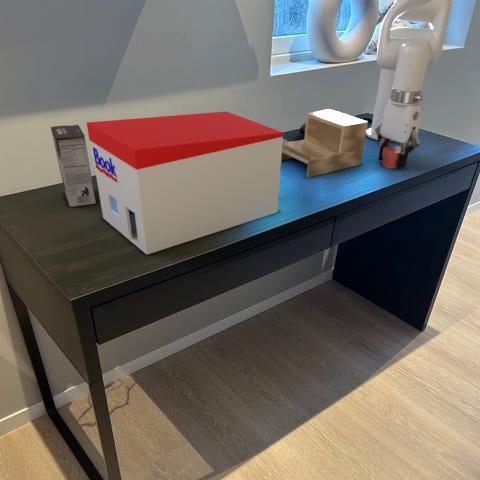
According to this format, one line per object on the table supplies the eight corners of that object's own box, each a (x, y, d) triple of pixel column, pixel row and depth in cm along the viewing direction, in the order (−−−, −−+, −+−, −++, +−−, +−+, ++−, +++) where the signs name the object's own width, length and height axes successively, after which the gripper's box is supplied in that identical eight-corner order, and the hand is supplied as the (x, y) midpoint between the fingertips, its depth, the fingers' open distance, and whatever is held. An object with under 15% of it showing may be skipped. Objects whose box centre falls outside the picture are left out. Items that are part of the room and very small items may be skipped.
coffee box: (64, 193, 120) (49, 126, 111) (90, 189, 123) (78, 123, 113) (69, 207, 114) (54, 137, 104) (96, 203, 116) (85, 134, 106)
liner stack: (390, 160, 144) (393, 144, 141) (406, 166, 140) (410, 150, 137) (375, 164, 141) (378, 147, 138) (391, 170, 137) (395, 153, 134)
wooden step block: (324, 149, 151) (329, 108, 144) (360, 164, 141) (368, 121, 133) (273, 161, 142) (276, 118, 135) (308, 177, 132) (313, 132, 124)
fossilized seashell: (330, 133, 156) (321, 130, 165) (321, 114, 153) (312, 112, 162) (310, 146, 157) (302, 142, 166) (301, 128, 154) (293, 125, 163)
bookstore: (101, 218, 110) (85, 122, 97) (226, 184, 127) (226, 99, 114) (145, 255, 96) (133, 150, 84) (278, 212, 114) (284, 119, 101)
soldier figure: (284, 144, 157) (305, 143, 147) (276, 157, 157) (296, 156, 147) (268, 128, 153) (288, 125, 143) (260, 141, 153) (280, 139, 143)
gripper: (441, 101, 125) (423, 169, 136) (390, 88, 136) (378, 152, 147) (421, 105, 122) (405, 175, 133) (371, 91, 133) (360, 157, 144)
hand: (391, 162), depth 140 cm, fingers closed on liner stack, 6 cm apart
